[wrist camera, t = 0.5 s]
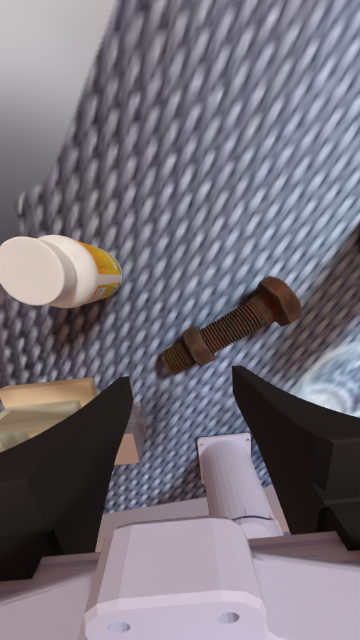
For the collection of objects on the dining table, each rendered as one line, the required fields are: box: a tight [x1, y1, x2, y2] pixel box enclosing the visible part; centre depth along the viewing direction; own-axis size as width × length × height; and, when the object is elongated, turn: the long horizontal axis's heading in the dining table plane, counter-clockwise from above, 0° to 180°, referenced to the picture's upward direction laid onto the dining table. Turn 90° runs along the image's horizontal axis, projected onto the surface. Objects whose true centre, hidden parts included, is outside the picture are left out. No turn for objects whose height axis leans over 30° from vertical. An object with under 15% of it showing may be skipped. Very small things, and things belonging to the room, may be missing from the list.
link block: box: [114, 402, 147, 465], centre depth 22 cm, size 4×4×5 cm
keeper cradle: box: [0, 377, 98, 452], centre depth 23 cm, size 14×12×4 cm
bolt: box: [161, 276, 302, 375], centre depth 19 cm, size 6×5×15 cm
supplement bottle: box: [0, 235, 122, 308], centre depth 15 cm, size 5×5×10 cm
